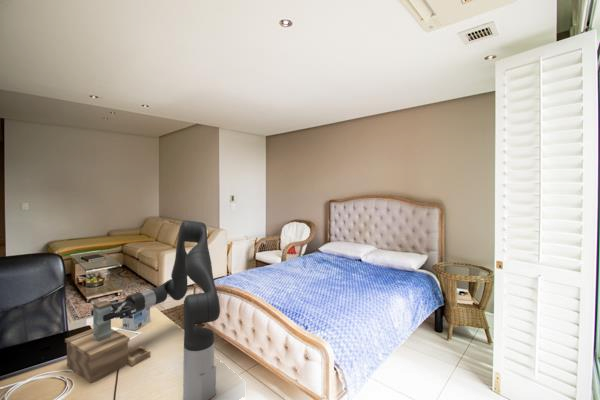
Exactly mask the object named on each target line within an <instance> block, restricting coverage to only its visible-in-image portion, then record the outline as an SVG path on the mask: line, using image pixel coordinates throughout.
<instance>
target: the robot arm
mask: <svg viewBox="0 0 600 400" xmlns="http://www.w3.org/2000/svg"><path fill="white" fill-rule="evenodd" d="M177 234H178V236H177V240H176V241H177V242H176V249H175V258H174V264H173V267H172V272H171V274H170V277H171V279H168V280H166V281H165V282H163V283H162V284H160V285H158V286H157V287H153V288H150V289H144V290H142V291H138V292H135V293H132V294H129V295H127V296H126V298H125V299H124V300H119V299H114V300H113V299H112V300H111V301H109V302H111V313H109V314H106V315H104V316H103V321H108V320H111V321H112V319H120V320H123V318H125V317H128V316H130V315H133V314H135V313H136V312H139V311H142V310H144V309H147V308H149V307H150V308H151V307H152V306H156V305H159V304H161V303H164V302H165V301H166V300H167V298H168V296H170V297H171V298H172V300H173V301H181V300H182V299H183V298H184V300H183V307H182V309H183V326H184V327H183V328H184V329H183V331H184V334H183V375H182V377H183V379H182V382H183V384H182V385H183V386H182V387H183V390H182V399H183V400H209V399H210V398H211V397H212V396H213V397H214V396H215V395H216V394H217V392H216V391H217V390H216V389H217V387H216V383H217V366H216V365H214V362H215V333H214V331H213V330H212V329H210V328H207V327H203V326H199V325H201V324H207V323H212V322H216V320H218V319H219V317H220V313H221V305H220V300H219V295H218V291H217V288H216V284H215V280H214V274H213V266H212V259H211V255H210V248H209V245H208V229H207V225H206V224H205V223H204V222H202V221H195V220H187V219H186V220H183V221H181V224H180V226H179V229H178V233H177ZM185 242H186V243H187V242H188V243H196V245H194V246H193V247H192V248H191V249H190V250H189V251H188V252H187V251H186V247H185V245H186V243H185ZM188 278H189V280H191V281H192V282H193V283H195V284H196V285H198V287H200V288H201V289H202V291H203V292H199V293H192V294H188V295H186V294H187V291H188ZM124 314H125V315H124ZM90 315H91V316H93V309H91V311H90ZM213 397H212V398H213ZM212 398H211V399H212ZM211 399H210V400H211Z"/></svg>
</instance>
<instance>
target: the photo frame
mask: <svg viewBox="0 0 600 400" xmlns="http://www.w3.org/2000/svg"><path fill="white" fill-rule="evenodd" d="M111 329H113V330H115V331H117V332H119V331H120V332H125V333H128V334H135V335H134V336H133V337H131V338H130V341H128V343H129V342H131V341H133V340H134V339H136V338H138V337H139V336H141V335H142V334H143V333H142V332H138V331H130V330H124V329H122V328H120V327H119V328H118V327H113V326H111Z"/></svg>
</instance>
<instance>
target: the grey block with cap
mask: <svg viewBox="0 0 600 400" xmlns="http://www.w3.org/2000/svg"><path fill="white" fill-rule="evenodd" d="M92 306H93V307H92V310H93V318H92V319H93V321H92V322H93V324H92V325H93V326H92V329H93V339H94V340H96V341H98V342H100V341H102V340H105V339H107V338H110V337H111V327H112V319H111V320H108V321H103V316H104V315H106V314H109V313H112V312H111V302H110V301H108V300H102V301H98V302H96V303H93V304H92Z"/></svg>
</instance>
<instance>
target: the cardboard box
mask: <svg viewBox="0 0 600 400" xmlns="http://www.w3.org/2000/svg"><path fill="white" fill-rule="evenodd" d="M130 339H131V338H130V337H129V336H127V335H125V334H124V333H121V332H119V331H115V330H113V329H111V337H110V338H107V339H105V340H102V341H100V342H98V341H96V340H94V339H93V328H90V329H88V330H85V331H83V332H80V333H77V334H75V335H71V336H70V337H67V338H64V343H66V367H67V368H69V369H71V370H72V371H73V372H75V373H76V374H78V375H79V376H80V377H82V378H83V379H84V380H86V381H87V382H89V383H90V384H93V383H95V382H97V381H98V380H101V379H103V378H105V377H106V376H109V375H110V374H112V373H114V372H116V371H119V370H120V369H122V368H123V367H124V368H125V367H126V366H130V367H134V366H135V365H138V364H139V363H142V362H143V361H145V360H147V359H149V358H150V357H151V355H152V351H151V350H149V349H148V348H145V347H143V346H141V345H139V346H137V347H135V348H134V349H131V350H129V342H131V341H130ZM128 341H129V342H128ZM138 354H139V355H138ZM134 356H135V357H134Z"/></svg>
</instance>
